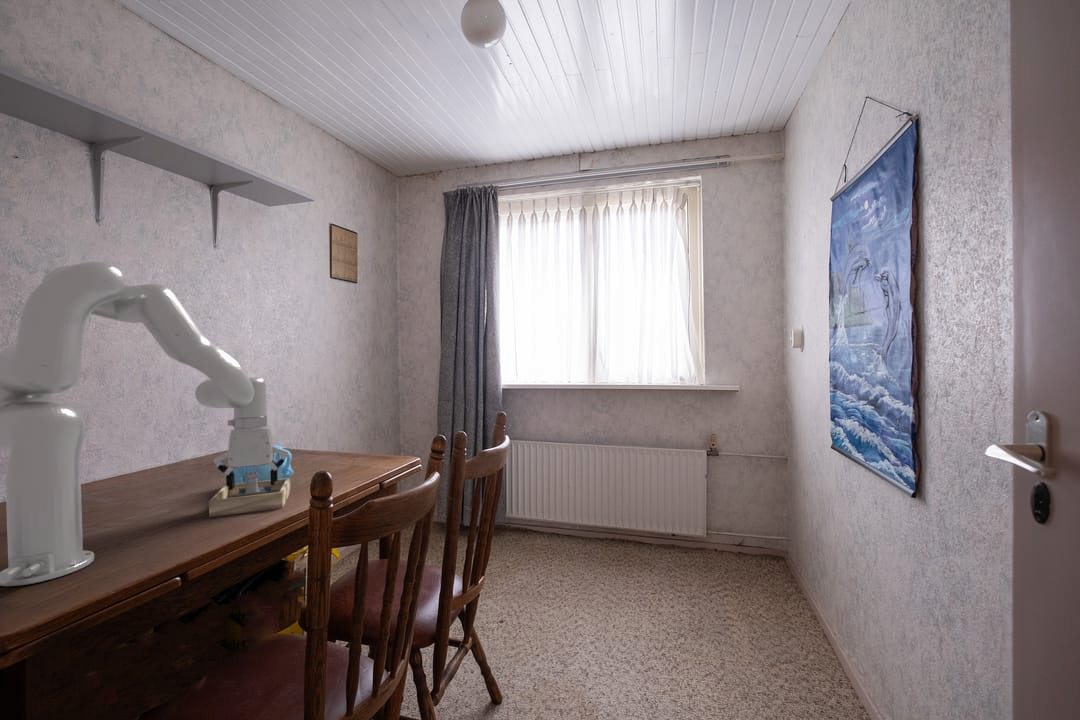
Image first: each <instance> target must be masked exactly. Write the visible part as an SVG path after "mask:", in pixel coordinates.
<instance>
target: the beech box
mask: <svg viewBox="0 0 1080 720" xmlns="http://www.w3.org/2000/svg"><path fill="white" fill-rule="evenodd" d="M257 485H258V486H265V485H271V480H267V481H257ZM246 487H247V483H239V484H235V487H234V488H233V489H232V490H229V486H226V484H225V485H224V486H223V487H222V488H221V489H220V490H219V491H218V492H217V493H215V494H214V496H212V497H211V498H210V500H208V512H209V513H208V514H209V518H212V517H221V516H222V517H223V516H230V515H238V514H244V513H246V514H247V513H253V512H259V511H260V512H261V511H269V510H277V509H283V508H284V506H285V503H287V499H288V498H289V496H290V494H291V477H288V478H285V479H278V481H275V484H274V485H271V490H272V493H268V494H259V495H250V496H242V497H233V495H236V494H239V489H240V488H246Z"/></svg>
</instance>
